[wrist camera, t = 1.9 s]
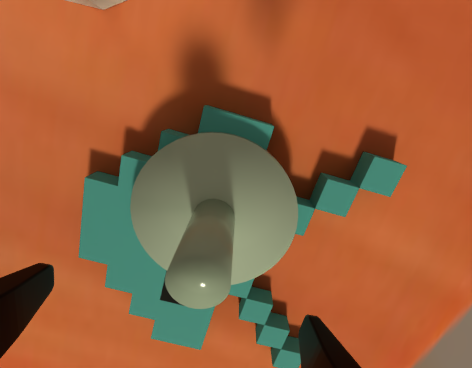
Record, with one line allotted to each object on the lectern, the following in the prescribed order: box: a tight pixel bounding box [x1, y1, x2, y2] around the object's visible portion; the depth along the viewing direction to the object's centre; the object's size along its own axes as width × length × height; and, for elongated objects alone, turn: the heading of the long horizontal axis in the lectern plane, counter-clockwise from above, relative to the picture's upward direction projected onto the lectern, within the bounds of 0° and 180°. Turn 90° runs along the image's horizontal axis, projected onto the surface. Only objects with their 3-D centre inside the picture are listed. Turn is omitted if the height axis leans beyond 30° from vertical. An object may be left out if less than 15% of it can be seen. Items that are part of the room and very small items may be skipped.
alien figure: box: [79, 105, 407, 368], centre depth 19 cm, size 20×2×20 cm
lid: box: [130, 132, 298, 309], centre depth 14 cm, size 11×11×7 cm
